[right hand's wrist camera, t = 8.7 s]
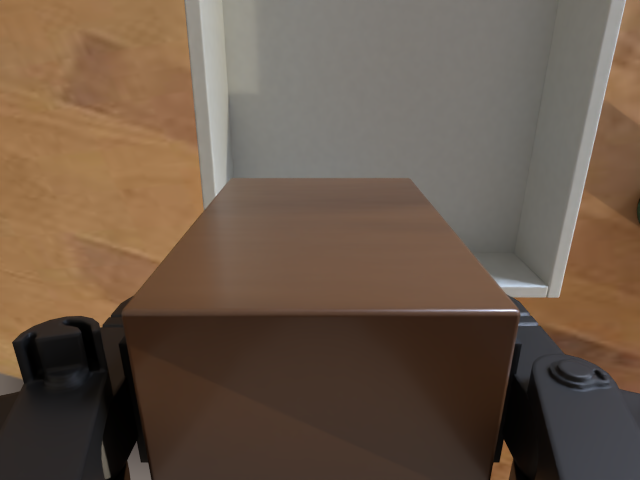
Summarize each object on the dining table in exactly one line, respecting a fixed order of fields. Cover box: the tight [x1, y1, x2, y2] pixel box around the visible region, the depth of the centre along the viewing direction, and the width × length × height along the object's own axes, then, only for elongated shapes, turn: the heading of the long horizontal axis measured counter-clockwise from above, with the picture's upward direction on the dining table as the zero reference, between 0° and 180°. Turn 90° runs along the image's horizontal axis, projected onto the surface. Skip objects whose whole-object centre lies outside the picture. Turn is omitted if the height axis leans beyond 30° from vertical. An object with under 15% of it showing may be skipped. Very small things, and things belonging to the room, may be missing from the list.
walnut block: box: [122, 178, 520, 480], centre depth 11 cm, size 6×6×8 cm
